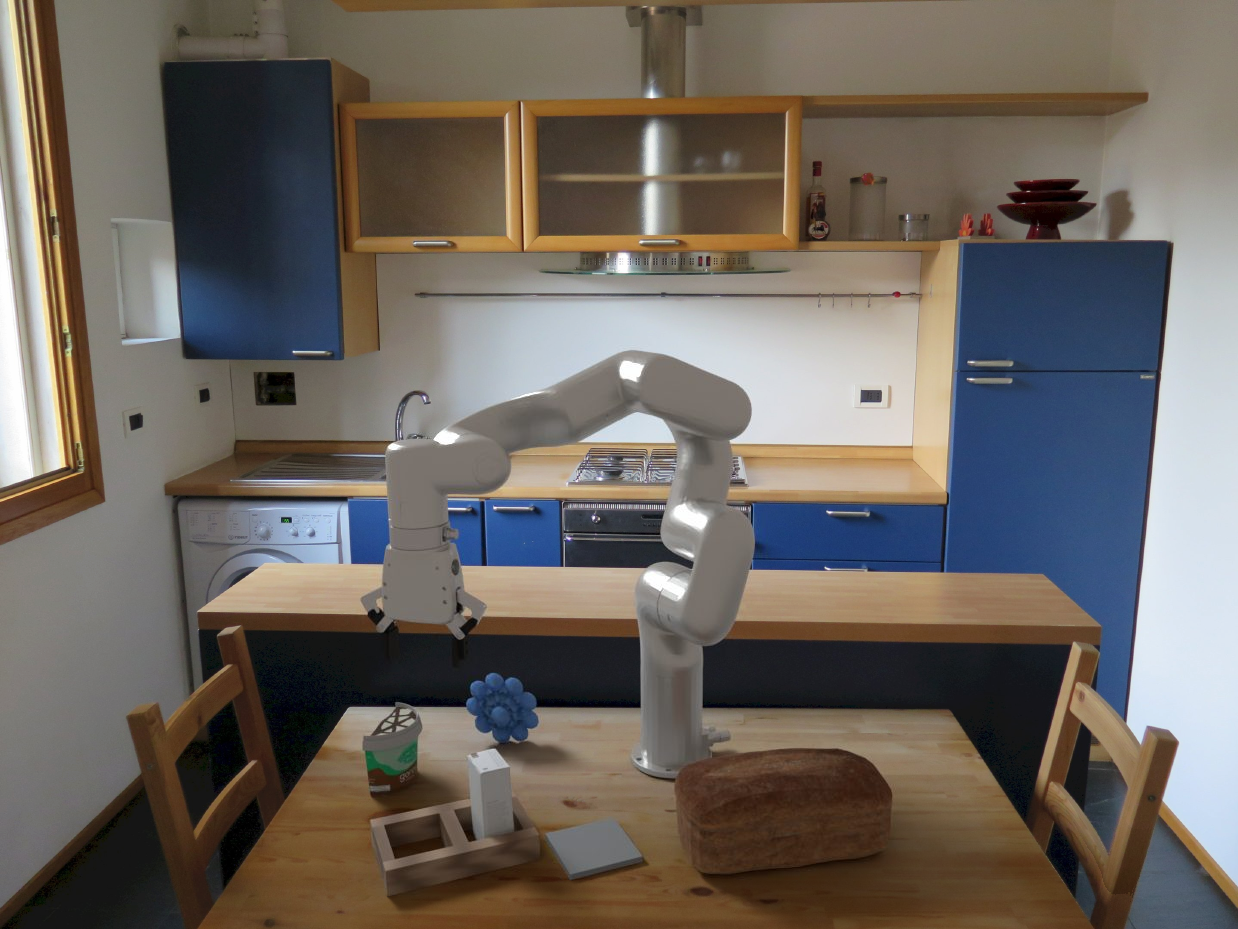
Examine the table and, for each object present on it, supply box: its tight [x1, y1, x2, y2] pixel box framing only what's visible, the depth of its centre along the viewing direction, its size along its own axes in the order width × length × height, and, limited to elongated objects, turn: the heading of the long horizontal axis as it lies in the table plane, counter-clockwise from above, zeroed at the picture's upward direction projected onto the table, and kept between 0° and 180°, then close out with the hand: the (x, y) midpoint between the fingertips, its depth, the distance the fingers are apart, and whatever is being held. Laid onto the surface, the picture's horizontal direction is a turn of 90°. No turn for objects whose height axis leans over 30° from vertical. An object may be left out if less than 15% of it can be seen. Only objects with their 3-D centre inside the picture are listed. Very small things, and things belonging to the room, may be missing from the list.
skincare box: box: [466, 748, 514, 841], centre depth 133 cm, size 6×4×12 cm
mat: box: [544, 817, 644, 881], centre depth 133 cm, size 10×10×1 cm
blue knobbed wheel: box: [465, 672, 540, 744], centre depth 160 cm, size 12×7×12 cm, turn 90°
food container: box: [362, 701, 423, 797], centre depth 150 cm, size 12×6×10 cm, turn 168°
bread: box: [673, 747, 893, 875], centre depth 132 cm, size 14×28×12 cm, turn 101°
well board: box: [369, 788, 541, 897], centre depth 132 cm, size 20×12×4 cm, turn 112°
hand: (425, 660), depth 132 cm, fingers open, 9 cm apart
